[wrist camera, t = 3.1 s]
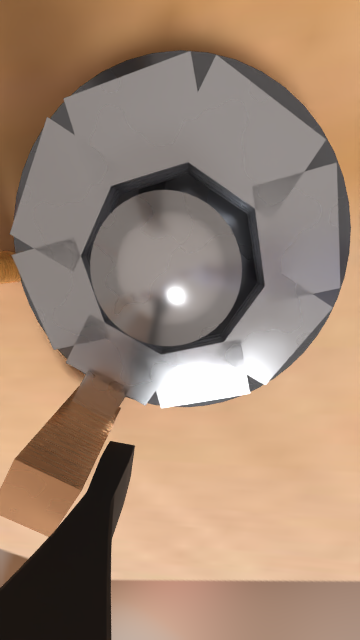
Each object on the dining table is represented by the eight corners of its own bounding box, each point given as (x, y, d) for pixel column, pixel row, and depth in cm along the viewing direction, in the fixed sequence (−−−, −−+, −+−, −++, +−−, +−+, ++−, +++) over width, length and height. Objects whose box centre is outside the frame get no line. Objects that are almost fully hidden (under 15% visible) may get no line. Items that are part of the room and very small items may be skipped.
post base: (379, 157, 9) (652, 8, 4) (252, 411, 13) (293, 515, 8) (64, 47, 8) (-148, -303, 3) (34, 346, 12) (-81, 410, 7)
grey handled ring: (110, 6, 6) (-10, -367, 3) (389, 216, 8) (588, 174, 4) (-23, 386, 11) (-139, 456, 7) (166, 481, 12) (155, 584, 8)
